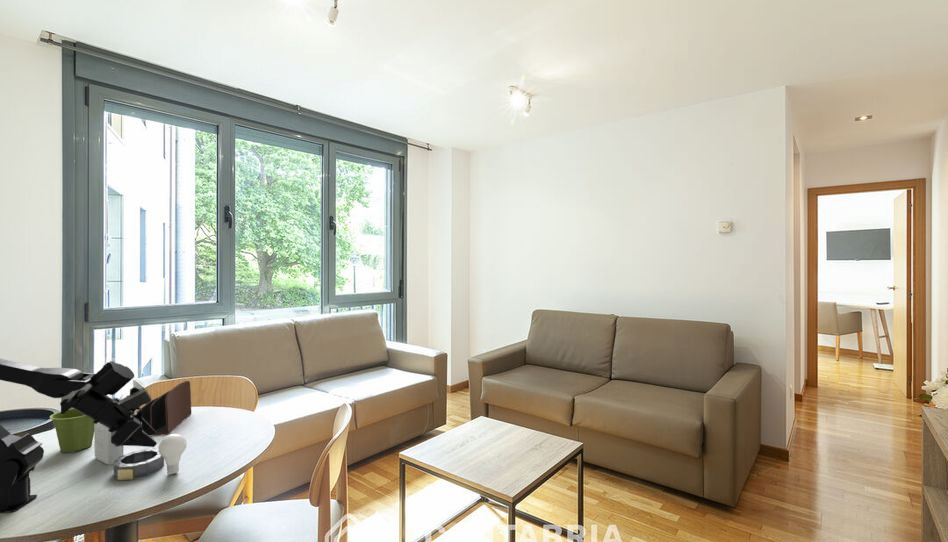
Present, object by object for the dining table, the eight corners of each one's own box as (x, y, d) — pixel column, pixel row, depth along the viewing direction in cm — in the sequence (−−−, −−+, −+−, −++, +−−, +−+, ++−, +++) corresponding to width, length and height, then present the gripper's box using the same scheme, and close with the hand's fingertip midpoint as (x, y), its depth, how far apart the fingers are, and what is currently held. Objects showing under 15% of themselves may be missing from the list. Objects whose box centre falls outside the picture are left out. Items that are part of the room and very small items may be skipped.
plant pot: (105, 447, 135) (104, 411, 135) (52, 460, 127) (51, 422, 126) (98, 436, 143) (98, 403, 143) (48, 448, 134) (47, 412, 134)
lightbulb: (161, 471, 121) (161, 432, 120) (188, 466, 123) (188, 428, 123) (156, 481, 115) (155, 440, 115) (184, 476, 118) (184, 436, 117)
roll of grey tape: (148, 479, 116) (147, 466, 116) (102, 482, 114) (101, 469, 114) (171, 459, 128) (171, 447, 128) (130, 461, 126) (129, 449, 126)
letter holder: (191, 414, 165) (191, 377, 165) (168, 434, 146) (167, 393, 145) (161, 416, 163) (161, 379, 162) (134, 437, 143) (133, 395, 143)
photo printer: (126, 460, 127) (125, 418, 126) (108, 466, 123) (107, 423, 123) (110, 452, 132) (109, 412, 131) (92, 458, 128) (91, 416, 128)
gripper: (127, 389, 105) (182, 423, 112) (128, 373, 120) (177, 404, 127) (84, 429, 101) (145, 462, 108) (91, 407, 115) (144, 437, 122)
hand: (155, 439), depth 116 cm, fingers open, 9 cm apart
